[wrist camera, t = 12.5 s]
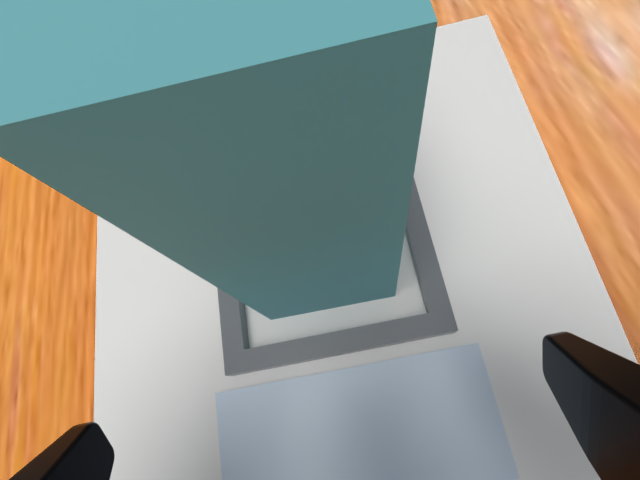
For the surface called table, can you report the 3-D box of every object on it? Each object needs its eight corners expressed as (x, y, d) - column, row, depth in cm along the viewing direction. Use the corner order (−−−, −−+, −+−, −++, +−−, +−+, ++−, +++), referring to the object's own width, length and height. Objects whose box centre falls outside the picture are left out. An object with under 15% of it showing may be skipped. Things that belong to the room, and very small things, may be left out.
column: (395, 296, 16) (437, 20, 4) (271, 319, 16) (-36, 134, 4) (369, 184, 18) (343, -245, 6) (257, 207, 18) (11, -148, 6)
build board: (667, 473, 14) (707, 485, 12) (108, 565, 15) (74, 587, 14) (482, 31, 21) (491, 0, 19) (111, 122, 22) (89, 100, 21)
